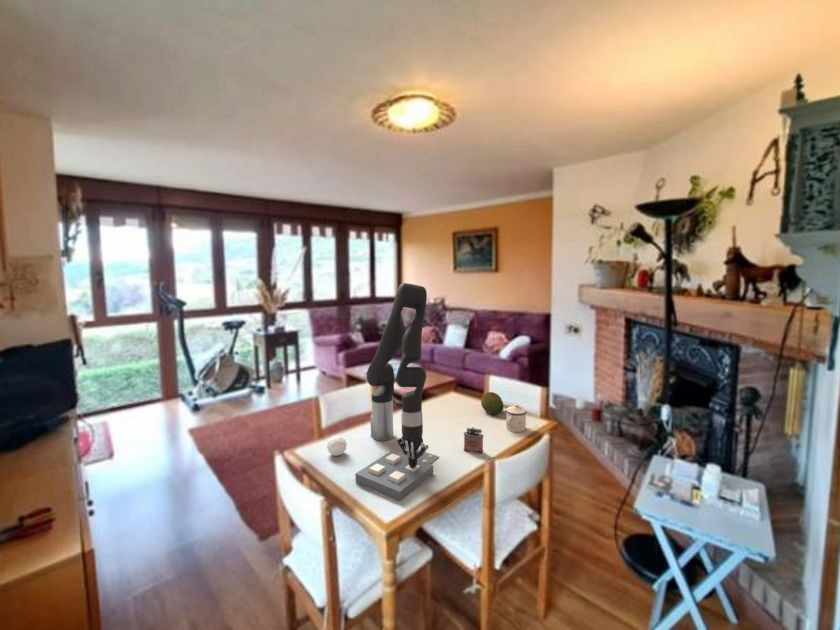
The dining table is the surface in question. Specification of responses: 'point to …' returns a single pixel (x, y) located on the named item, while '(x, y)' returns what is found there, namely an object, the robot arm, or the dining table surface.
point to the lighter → (473, 441)
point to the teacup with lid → (516, 418)
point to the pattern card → (427, 458)
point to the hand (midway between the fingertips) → (412, 466)
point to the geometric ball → (336, 445)
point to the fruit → (492, 403)
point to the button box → (382, 481)
